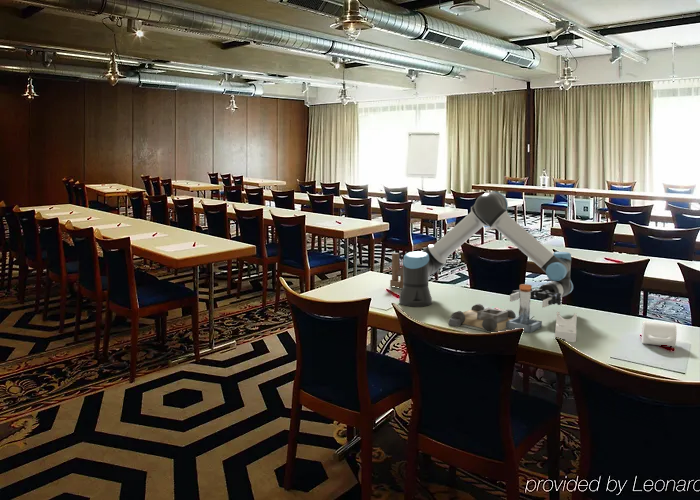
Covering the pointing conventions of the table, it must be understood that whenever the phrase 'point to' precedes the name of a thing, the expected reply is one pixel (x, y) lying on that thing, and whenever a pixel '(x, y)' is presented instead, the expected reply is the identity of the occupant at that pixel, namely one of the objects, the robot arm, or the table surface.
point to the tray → (527, 328)
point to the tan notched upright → (396, 272)
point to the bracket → (566, 328)
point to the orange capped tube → (524, 304)
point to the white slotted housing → (659, 333)
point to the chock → (454, 322)
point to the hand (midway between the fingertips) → (526, 301)
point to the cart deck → (478, 323)
